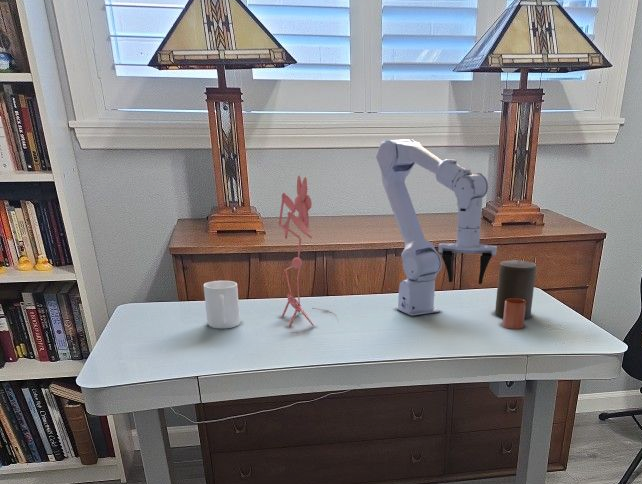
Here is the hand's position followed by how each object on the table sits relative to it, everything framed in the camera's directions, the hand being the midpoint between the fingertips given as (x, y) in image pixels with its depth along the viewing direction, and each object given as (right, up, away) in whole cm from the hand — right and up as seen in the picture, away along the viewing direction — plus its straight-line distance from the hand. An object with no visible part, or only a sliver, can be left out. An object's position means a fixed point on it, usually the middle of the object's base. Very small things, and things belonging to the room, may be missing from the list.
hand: (465, 282), depth 180 cm
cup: (-62, -12, -2) cm, 63 cm away
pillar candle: (+14, -6, +12) cm, 20 cm away
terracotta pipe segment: (+13, -11, +3) cm, 17 cm away
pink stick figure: (-40, -9, +4) cm, 41 cm away
